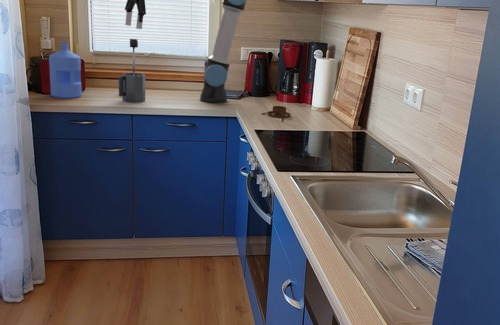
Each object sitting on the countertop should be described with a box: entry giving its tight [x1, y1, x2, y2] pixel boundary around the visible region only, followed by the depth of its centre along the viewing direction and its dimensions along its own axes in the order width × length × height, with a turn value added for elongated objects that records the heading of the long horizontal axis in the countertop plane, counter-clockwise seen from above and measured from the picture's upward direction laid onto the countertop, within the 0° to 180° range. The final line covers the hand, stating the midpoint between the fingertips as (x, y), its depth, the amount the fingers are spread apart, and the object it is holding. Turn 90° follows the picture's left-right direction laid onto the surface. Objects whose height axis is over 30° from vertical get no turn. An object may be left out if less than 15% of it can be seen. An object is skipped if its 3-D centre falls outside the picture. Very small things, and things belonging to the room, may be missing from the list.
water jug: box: [48, 41, 83, 99], centre depth 266 cm, size 16×16×28 cm
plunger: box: [129, 38, 139, 76], centre depth 264 cm, size 8×8×20 cm
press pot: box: [118, 72, 146, 104], centre depth 267 cm, size 14×11×14 cm
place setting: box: [261, 105, 291, 123], centre depth 254 cm, size 18×20×6 cm
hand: (133, 27), depth 258 cm, fingers open, 13 cm apart
